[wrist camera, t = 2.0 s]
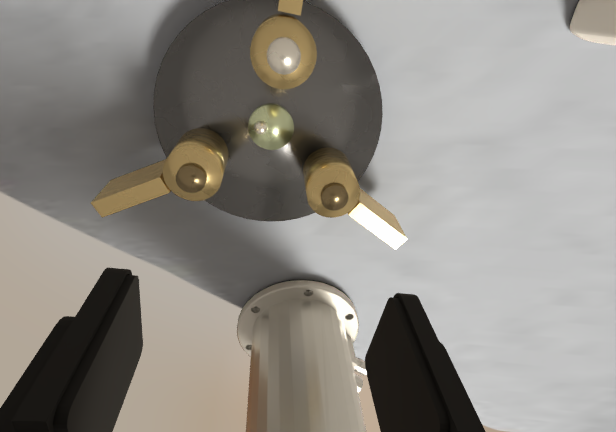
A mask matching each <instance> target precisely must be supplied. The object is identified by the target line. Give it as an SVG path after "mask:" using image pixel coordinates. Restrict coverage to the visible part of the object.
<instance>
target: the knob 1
mask: <svg viewBox="0 0 616 432" xmlns="http://www.w3.org/2000/svg"><path fill="white" fill-rule="evenodd" d="M227 161H228V148H227V145H226V143H225V141H224V140H223V139H222V138H221V137H220V136H219V135H218V134H217V133H215V132H213V131H211V130H209V129H205V128H196V129H192V130H189V131H187V132H186V133H185V134H183V135H182V137H181V138H180V140H179V141H178V143H177V144H176V146H175V147H174V149H173V150H172V152H171V153H170V155H169V156H168V158H167V159H165V160H163V161H160V162H157V163H155V164H152V165H149V166H147V167H144V168H141V169H139V170H136V171H134V172H131V173H128V174H126V175H123V176H120V177H118V178H115V179H112V180H110V182H109V183H108V184H107V185H106V186H105V187H104V188H103V189H102V191H101V192H100V193H99V194H98V195H97V196H96V197H95V199H94V200H93V201H92V202H91V204H92V205H93V206H94V208H95V209H96V210H97V212H98V213H99V214H100V215H101V217H105V216H108V215H110V214H113V213H116V212H119V211H121V210H124V209H127V208H130V207H132V206H135V205H138V204H140V203H143V202H146V201H149V200H151V199H154V198H157V197H160V196H162V195H165V194H168V193H170V191H172V192H173V193H174V194H176V195H177V196H179V197H181V198H183V199H186V200H190V201H201V200H205V199H208V198H210V197H212V196H213V195H214V194H215V193H216V192H217V191H218V189H219V188H220V185H221V182H222V178H223V175H224V171H225V168H226V164H227Z"/></svg>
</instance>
